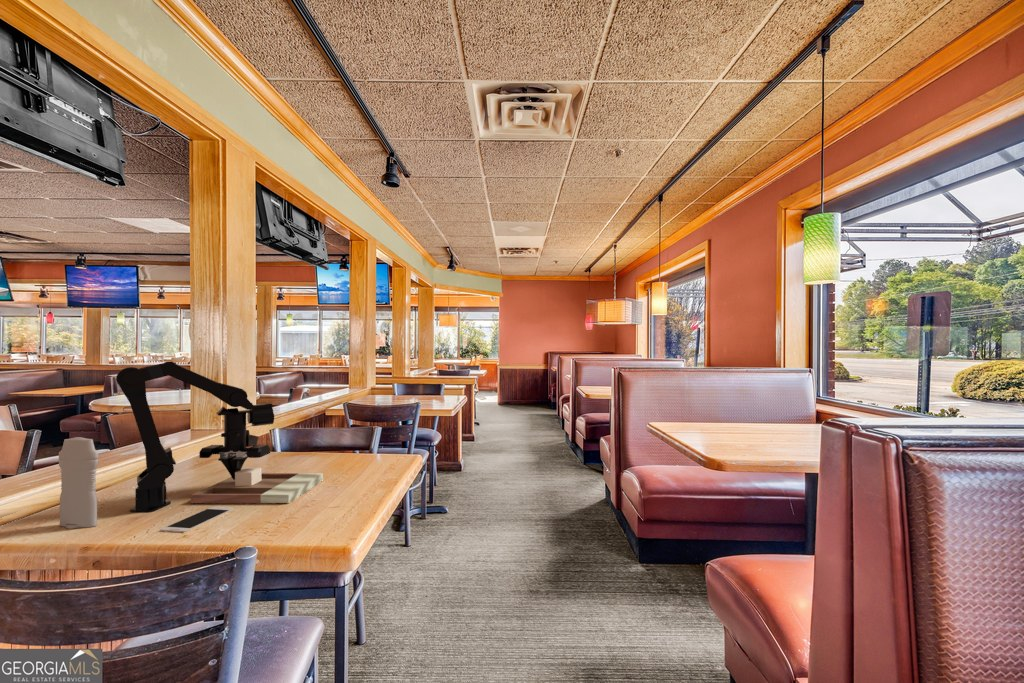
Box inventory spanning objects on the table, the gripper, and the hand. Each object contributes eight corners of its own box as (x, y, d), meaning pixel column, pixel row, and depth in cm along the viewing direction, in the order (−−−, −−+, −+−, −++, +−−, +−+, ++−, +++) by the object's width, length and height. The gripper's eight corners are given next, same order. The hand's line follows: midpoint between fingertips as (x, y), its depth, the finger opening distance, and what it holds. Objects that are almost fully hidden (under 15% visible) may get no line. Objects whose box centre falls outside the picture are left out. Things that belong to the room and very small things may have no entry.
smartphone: (235, 510, 119) (235, 507, 119) (185, 534, 104) (185, 530, 104) (212, 509, 120) (212, 505, 120) (159, 533, 105) (159, 529, 105)
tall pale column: (50, 528, 107) (50, 438, 107) (68, 521, 111) (68, 435, 111) (88, 529, 106) (88, 439, 106) (105, 522, 110) (105, 435, 110)
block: (251, 485, 131) (251, 472, 131) (235, 485, 131) (235, 472, 131) (261, 480, 136) (261, 467, 136) (245, 480, 136) (245, 467, 136)
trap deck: (288, 503, 122) (288, 494, 122) (191, 503, 123) (191, 494, 123) (323, 480, 143) (323, 473, 143) (239, 480, 144) (239, 473, 144)
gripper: (279, 423, 142) (280, 471, 142) (223, 423, 142) (223, 471, 142) (259, 430, 130) (259, 482, 130) (197, 430, 131) (198, 482, 131)
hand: (235, 479), depth 134 cm, fingers closed
